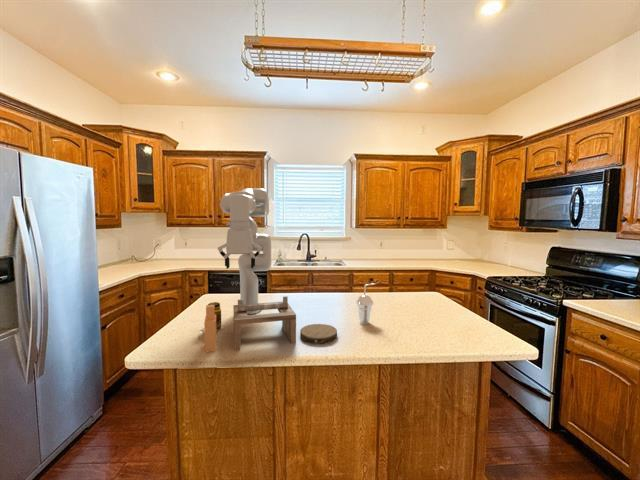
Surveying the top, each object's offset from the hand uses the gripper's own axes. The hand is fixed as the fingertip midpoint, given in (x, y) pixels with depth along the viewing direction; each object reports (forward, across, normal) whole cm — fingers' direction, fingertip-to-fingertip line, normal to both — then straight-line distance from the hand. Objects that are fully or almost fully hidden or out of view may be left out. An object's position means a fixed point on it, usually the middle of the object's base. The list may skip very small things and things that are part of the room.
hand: (240, 267), depth 120 cm
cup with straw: (+31, +57, +17) cm, 67 cm away
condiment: (+31, -15, +16) cm, 38 cm away
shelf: (+31, +9, +4) cm, 32 cm away
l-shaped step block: (+31, -11, -4) cm, 33 cm away
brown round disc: (+31, +33, +2) cm, 45 cm away
